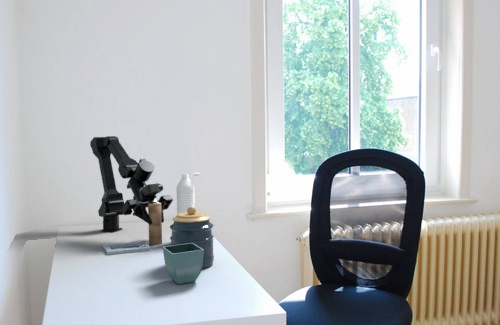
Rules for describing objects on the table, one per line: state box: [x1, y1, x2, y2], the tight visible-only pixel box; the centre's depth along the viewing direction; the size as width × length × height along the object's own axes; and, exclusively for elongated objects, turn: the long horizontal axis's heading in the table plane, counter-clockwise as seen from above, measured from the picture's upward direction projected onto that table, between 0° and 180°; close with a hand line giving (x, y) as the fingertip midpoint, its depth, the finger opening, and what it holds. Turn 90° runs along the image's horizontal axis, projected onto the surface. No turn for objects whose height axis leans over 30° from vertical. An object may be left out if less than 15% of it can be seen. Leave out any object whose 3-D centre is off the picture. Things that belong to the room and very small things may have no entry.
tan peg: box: [147, 203, 163, 246], centre depth 169 cm, size 5×5×14 cm
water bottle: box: [176, 172, 201, 215], centre depth 171 cm, size 9×6×25 cm
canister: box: [169, 206, 215, 270], centre depth 141 cm, size 13×13×18 cm
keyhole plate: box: [103, 240, 152, 256], centre depth 161 cm, size 14×11×1 cm
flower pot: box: [162, 243, 204, 285], centre depth 125 cm, size 9×9×9 cm
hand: (157, 223), depth 168 cm, fingers closed on tan peg, 5 cm apart
